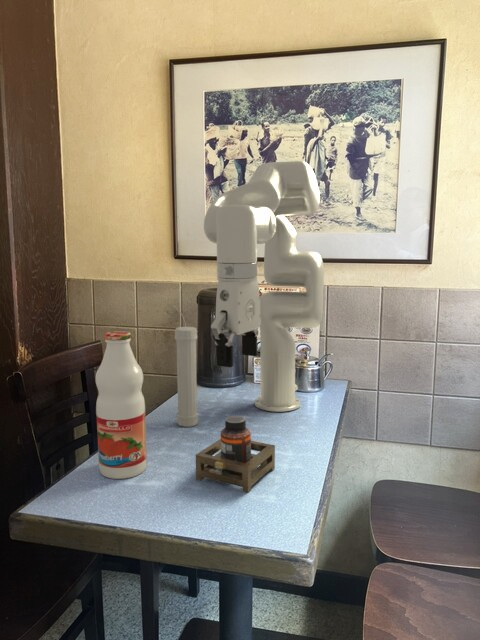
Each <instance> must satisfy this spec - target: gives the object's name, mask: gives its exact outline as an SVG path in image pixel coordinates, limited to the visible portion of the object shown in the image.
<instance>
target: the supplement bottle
mask: <svg viewBox="0 0 480 640" xmlns="http://www.w3.org/2000/svg"><path fill="white" fill-rule="evenodd" d="M224 426H225V427H224V428H223V429H222V430H221V432H220V439H221V450H220V452H221V458H224V459H229V460H233V461H238V462H242V463H246V462H248V461H249V460H250V459H251V454H252V450H251V441H252V438H251V437H252V436H251V435H252V433H251V430H250V429H249V428H248V427H247V421H246V417H243V416H240V415H231V416H228V417H226V418H225V419H224ZM220 470H221V471H220V472H224V473H229V474H233V475H237V476H241V477H242V473H240V472H236V471H232V470H228V469H220Z"/></svg>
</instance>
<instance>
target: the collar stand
mask: <svg viewBox="0 0 480 640" xmlns="http://www.w3.org/2000/svg"><path fill="white" fill-rule="evenodd" d="M251 451H256V452H257V454H255V453H251V459H250V460H249V461H248V462H246V463H242V462H238V461H233V460H229V459H224V458H221V438H219V439H218V440H217V441H215V442H213V443H212V444H210V445H208V446H207V447H205V448H204V449H202V450H201V451H200V452H198V453H196V454H195V480H196V481H203V480H204V479H207V480H212V481H214V482H215V481H216V482H220V483H222V484H223V483H224V484H228V485H230V486H231V485H232V486H235V487H239V488H242V491H241V492H243V493H248V494H249V493H250V492H251V491H252V486H253V485H255V483H256V482H257V481H259V480H260V479H261V478H262V477H263V476H265V475H266V474H267V473H268V472H273V471H275V469H276V464H275V463H276V446H275V445H274V444H271V443H270V444H269V443H266V442H265V443H264V442H260V441H255V440H251ZM214 468H215V469H220V470H221V469H228V470H232V471H236V472H240V473H242V477H241V476H237V475H233V474H229V473H224V472H221V471H220V470H215V469H214Z"/></svg>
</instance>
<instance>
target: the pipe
mask: <svg viewBox="0 0 480 640" xmlns="http://www.w3.org/2000/svg"><path fill="white" fill-rule="evenodd" d="M171 306H172V307H174V309H176V310H177V311H178V312H179V313H180V315H181V316H182V319H183V322H184V325H185V326H179V327H176V328H175V330H174V340H175V341H176V370H177V371H176V376H177V377H176V379H177V381H176V382H177V412H176V419H177V420H176V421H177V422H176V423H177V424H178V426H180V427H184V428H186V427H188V428H189V427H194V426H196V425H198V423H199V415H200V413H199V412H198V403H197V402H198V393H197V392H198V390H197V389H198V388H197V387H198V386H197V345H196V344H197V343H196V342H197V339H198V335H197V333H198V332H197V331H198V329H197V328H196V327H194V326H187V323H186V320H185V317H184V315H183V314H182V312H181V311H180V309H178V307H176V306H175V305H173V304H171Z"/></svg>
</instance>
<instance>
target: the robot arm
mask: <svg viewBox="0 0 480 640" xmlns="http://www.w3.org/2000/svg"><path fill="white" fill-rule="evenodd" d="M320 203H321V194H320V188H319V185H318V182H317V178H316V175H315V172H314V170H313V167H311V165H310V164H309V163H307V162H306V161H301V160H299V161H298V160H293V161H271V162H265V163H264V164H261V165H259V166H258V167H257V168H256V169H255V171H254V173H253V174H252V175H251V177H250V179H249V180H248V182H247V183H245V184H242V185H239V186H237V187H235V188H233V189H230V190H228V191H225V192H223V193H221V194H219V195H218V196H216V197H215V198H214V200H213V201H212V202H211V204H210V205H209V207H208V209H207V210H206V213H205V216H204V220H203V230H204V234H205V236H206V238H207V239H208V240H209V241H210V242H212V243H213V244H216V274H217V275H216V276H217V277H216V279H217V288H216V299H215V300H216V301H215V319H214V320H213V322H212V323H211V325H210V329H211V332H212V337H213V340H214V345H215V346H216V364H217V367H223V368H232V367H233V366H234V345H232V342H233V340H234V336H235V334H236V335H237V336H239V335H241V353H242V355H243V356H249V357H250V356H251V357H256V356H258V336H260V338H259V339H260V340H259V341H260V355H259V356H260V365H259V366H260V387H259V388H260V390H259V391H260V394H259V395H260V396H258V397H256V399H255V400H254V405H255V407H256V408H258V409H260V410H263V411H265V412H266V411H268V412H277V413H278V412H279V413H281V412H291V411H295V410H297V409H299V408H300V407H301V400H300V399H299V398H298V397H296V391H297V390H298V389H299V387H298V385H297V384H296V342H295V339H294V337H293V335H292V334H291V332H290V331H289V330H288V328H302V329H314V328H317V327H319V326H320V325H321V323H322V320H323V313H324V312H323V311H324V280H325V279H324V277H325V276H324V275H325V272H324V271H325V267H324V261H323V258H322V256H321V255H320V253H319V252H316V251H310V250H297V230H296V228H294V226H293V225H292V223H291V221H290V220H288V218H287V217H288V216H289V217H290V216H312V215H314V214H316V212H317V211H318V210H319V207H320ZM286 216H287V217H286ZM262 244H264V256H263V257H264V258H263V259H264V261H263V262H264V263H263V275H264V280H265V282H266V283H267V284H268V285H270V286H273V287H289V288H291V287H293V288H295V287H296V288H300V287H301V288H304V289H305V290H306V291H284V290H283V291H282V290H280V291H278V290H276V291H275V290H274V291H267V292H264V293H262V294H261V295H260V290H259V282H258V245H262ZM258 329H259V330H258ZM259 331H260V332H259ZM226 336H227V337H226Z"/></svg>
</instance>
